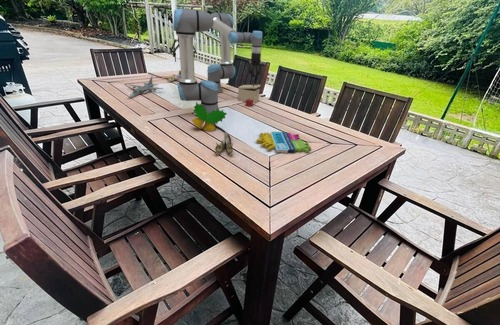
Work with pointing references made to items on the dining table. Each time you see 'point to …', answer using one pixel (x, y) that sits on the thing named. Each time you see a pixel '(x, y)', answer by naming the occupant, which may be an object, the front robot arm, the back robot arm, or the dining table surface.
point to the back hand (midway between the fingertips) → (254, 83)
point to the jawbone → (224, 145)
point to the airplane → (143, 88)
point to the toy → (173, 77)
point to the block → (249, 102)
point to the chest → (248, 94)
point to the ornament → (207, 117)
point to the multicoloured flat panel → (283, 142)
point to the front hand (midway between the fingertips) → (184, 61)
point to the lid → (249, 85)
